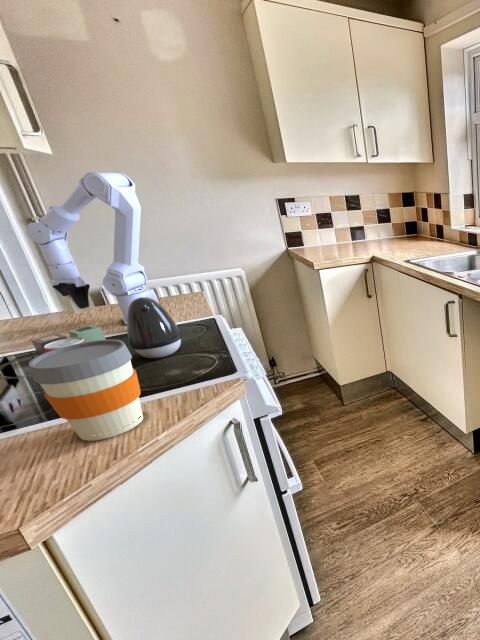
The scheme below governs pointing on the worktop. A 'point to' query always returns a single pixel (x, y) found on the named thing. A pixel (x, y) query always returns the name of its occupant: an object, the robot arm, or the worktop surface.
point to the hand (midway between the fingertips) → (80, 306)
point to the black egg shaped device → (151, 329)
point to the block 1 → (46, 342)
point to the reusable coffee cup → (91, 387)
